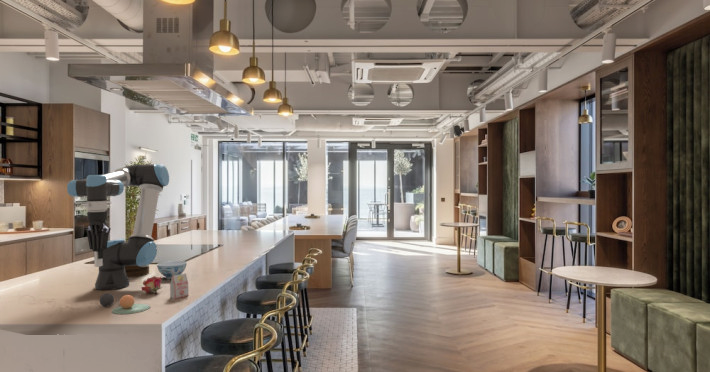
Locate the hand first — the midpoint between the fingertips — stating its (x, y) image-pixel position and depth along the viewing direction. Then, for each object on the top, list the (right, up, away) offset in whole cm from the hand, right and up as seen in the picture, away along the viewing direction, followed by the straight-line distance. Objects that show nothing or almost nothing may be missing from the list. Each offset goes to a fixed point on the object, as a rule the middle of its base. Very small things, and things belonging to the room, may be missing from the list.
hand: (98, 266), depth 196 cm
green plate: (+18, -16, -8) cm, 25 cm away
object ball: (+15, -14, -6) cm, 22 cm away
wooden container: (-14, -16, +63) cm, 66 cm away
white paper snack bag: (+30, -16, +12) cm, 36 cm away
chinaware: (+11, -16, +53) cm, 56 cm away
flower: (+14, -16, +19) cm, 29 cm away
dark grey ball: (+5, -14, -3) cm, 15 cm away
